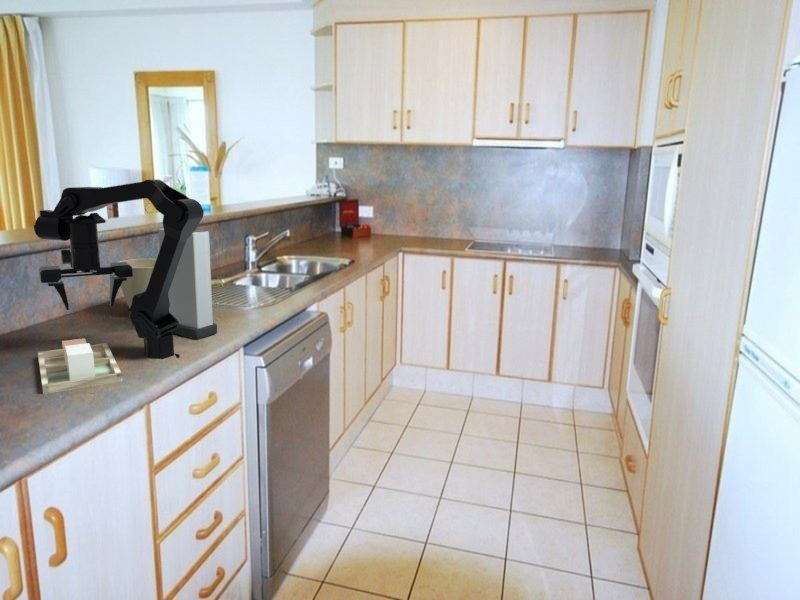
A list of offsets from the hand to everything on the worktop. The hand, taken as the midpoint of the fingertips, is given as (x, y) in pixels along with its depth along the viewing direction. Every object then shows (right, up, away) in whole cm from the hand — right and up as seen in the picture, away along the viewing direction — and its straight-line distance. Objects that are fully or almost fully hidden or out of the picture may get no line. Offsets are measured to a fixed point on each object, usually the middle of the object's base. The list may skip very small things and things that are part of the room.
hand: (89, 307), depth 132 cm
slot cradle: (+4, -14, -11) cm, 18 cm away
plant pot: (-3, -3, +36) cm, 36 cm away
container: (+16, -7, +21) cm, 27 cm away
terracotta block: (+1, -12, -7) cm, 14 cm away
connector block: (+7, -14, -15) cm, 22 cm away
